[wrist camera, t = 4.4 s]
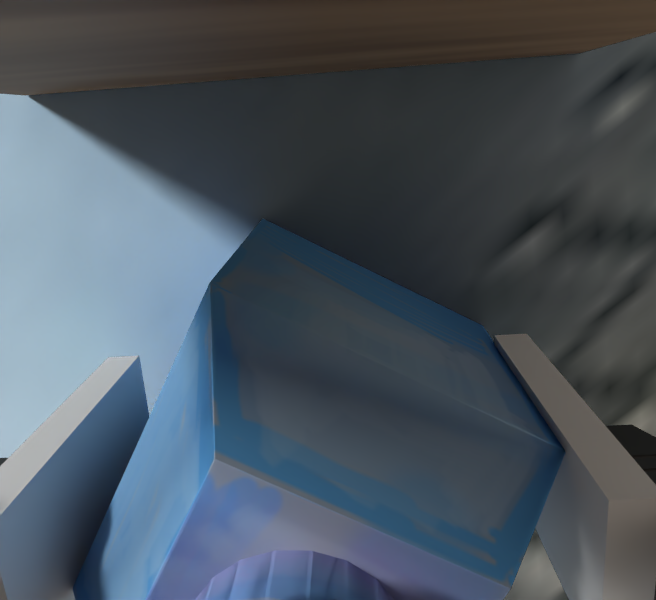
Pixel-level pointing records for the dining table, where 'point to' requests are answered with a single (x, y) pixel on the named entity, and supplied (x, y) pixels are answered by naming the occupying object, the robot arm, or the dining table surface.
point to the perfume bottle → (326, 447)
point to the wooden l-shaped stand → (286, 37)
